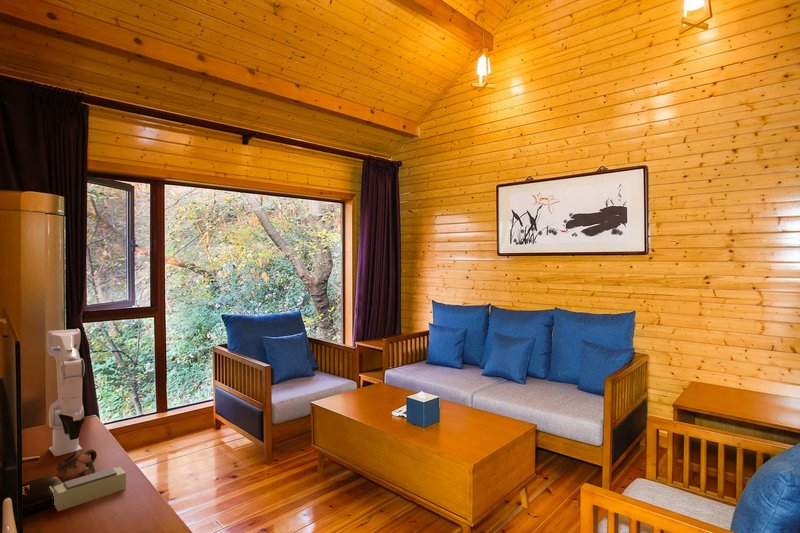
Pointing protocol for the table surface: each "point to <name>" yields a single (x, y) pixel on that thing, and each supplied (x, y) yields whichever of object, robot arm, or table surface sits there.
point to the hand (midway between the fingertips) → (71, 436)
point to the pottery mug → (72, 460)
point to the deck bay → (88, 488)
